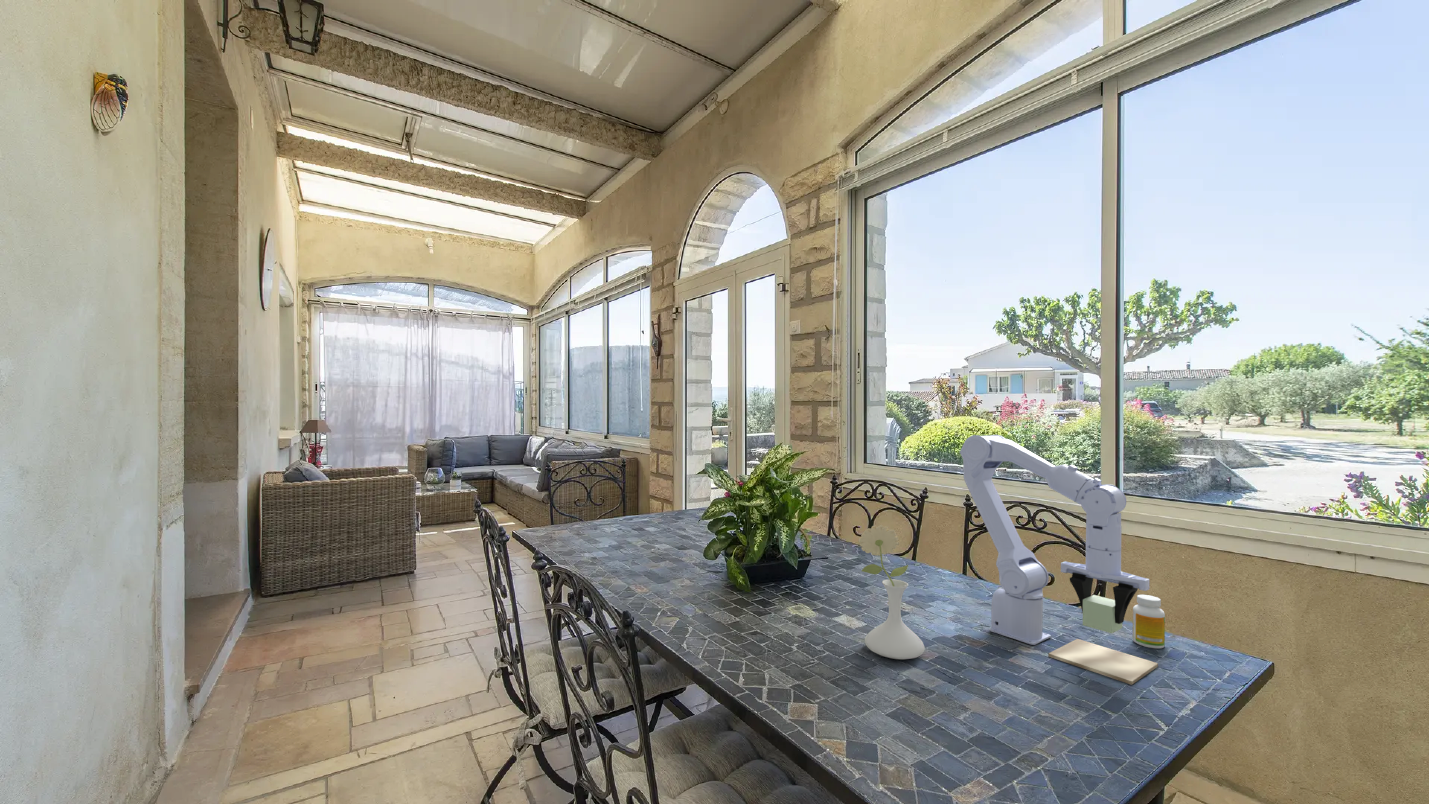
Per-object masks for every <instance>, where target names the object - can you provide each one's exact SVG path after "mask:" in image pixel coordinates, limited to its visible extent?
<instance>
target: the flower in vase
mask: <svg viewBox="0 0 1429 804" xmlns="http://www.w3.org/2000/svg"><path fill="white" fill-rule="evenodd" d="M860 535H861V536H860V537H859V538H858V543H859V546H860V547H861V548H860V549H861V550H862V552H865V554H871V555H872V556H878V557H880V565H881V566H880V565H878V564H875V563H871V564H868V565H866V566H865V567H863V568H862V569H861V572H863V573H868V574H871V575H878V574H879V573H881V572H882V571H884V573H885V575H886V576H887V578H888V579H883V580H882V581H881V583H882V585H883V586H884V588H885V591H886V593H887V597H888V598H887V600H888V614H887V615H888V616H887V618H886V620H885V621H884V622H882V623H881V624H879V625H878V626H876V627H875V628H873V629H871V630H870V631H869V632H868V633H866V636H865V638H864V644H865V645H866V647H867V648H868V649H869V650H870V651H871V652H873V653H875V654H877V655H879V656H881V657H885V658H889V659H894V660H909V659H916V658H918V657H920V656H922V654H924V652H925V650H926V648H925V645H924V641H922V639H921V638H920V637H919V636H918V635H917V634H916V633H915V632H914V631H913V630H912V629H911V628H909V627H908V626H907V625H906V624H905V623H904V621H903V619H902V615H901V614H902V613H901V609H902V608H901V607H902V600H903V599H902V597H903V595H904V592H905V591H906V589H907V588H908V586H909V583H908V582H906V581H904V580H900V579H895V578H894V577H900V576H902V575H904V574H905V573H906V572H907V570H908V568H909V564H907V565H903V566H899V567H896V568H893V570H892V571H891V573H890V575H889V573H888V572H887V570H886V568H885V566H884V563H883V555H884V556H885V555H887V554H888V553H889V554H890V553H893V552H894V550H895V549H896V548H897V546H898V545H899V544H900V542H899V540H900V539H899V537H898V534H897V533H896V530H895V529H890V528H889V526H888V525H886V526H883V524H882V525H881V524H880V525H878V526H877V525H872V526H871V528H869V527H868V528H865V530H864V531H863V532H862V533H861V534H860ZM891 577H893V578H894V579H892V578H891Z"/></svg>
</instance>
